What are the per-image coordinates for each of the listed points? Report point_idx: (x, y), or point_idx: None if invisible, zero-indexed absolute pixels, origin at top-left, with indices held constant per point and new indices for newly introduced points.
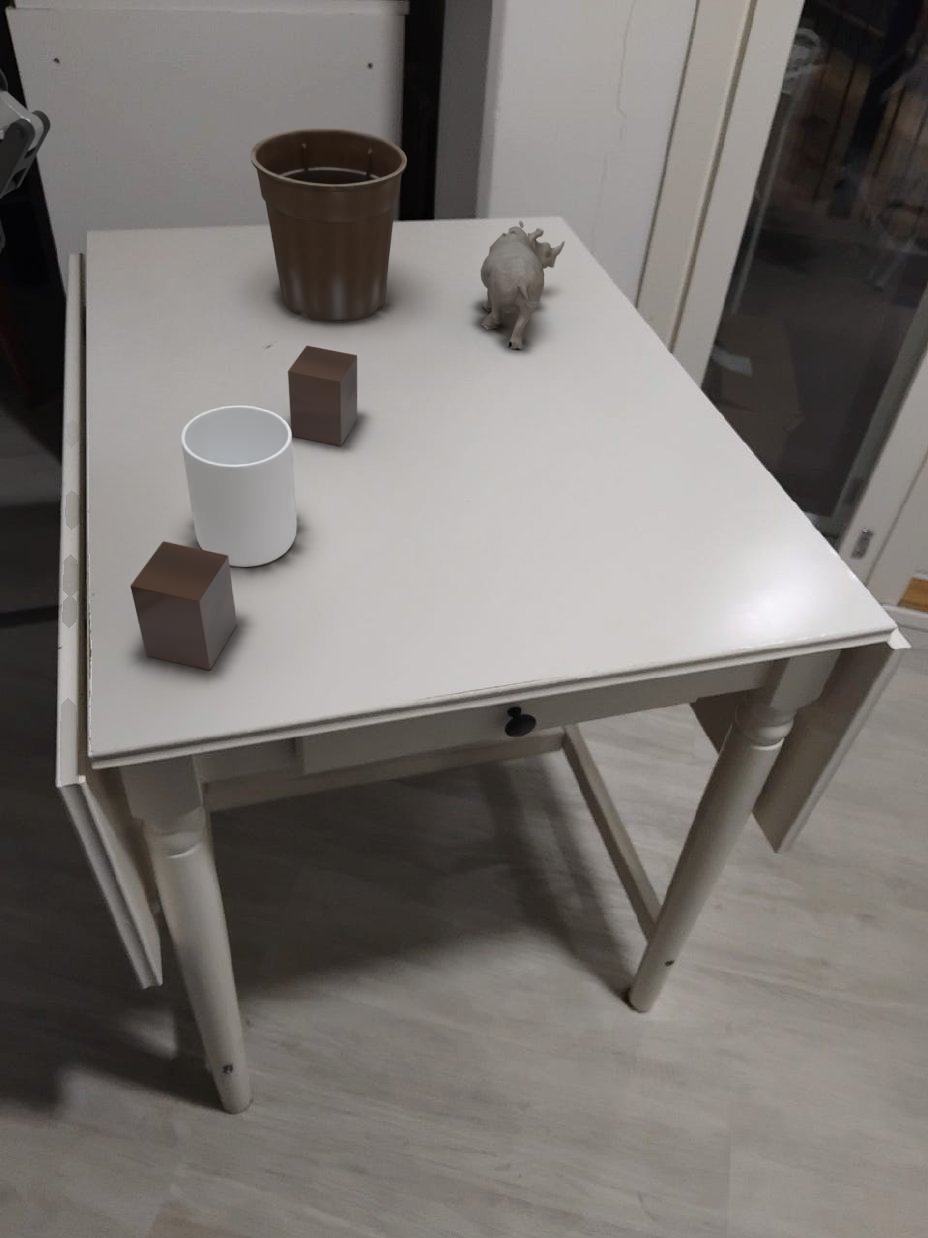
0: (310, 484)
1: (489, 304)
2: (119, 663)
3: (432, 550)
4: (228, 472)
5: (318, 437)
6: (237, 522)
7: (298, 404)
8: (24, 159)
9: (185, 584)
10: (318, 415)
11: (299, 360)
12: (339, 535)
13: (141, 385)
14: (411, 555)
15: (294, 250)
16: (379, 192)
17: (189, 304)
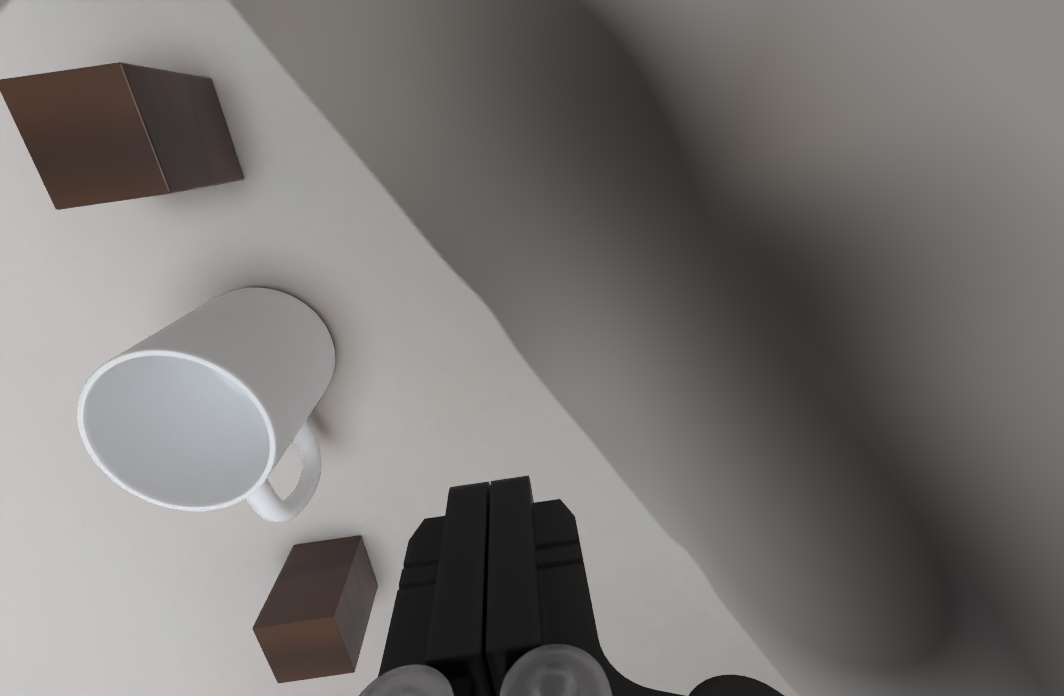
0: (275, 469)
1: None
2: (231, 47)
3: (52, 429)
4: (126, 351)
5: (321, 545)
6: (182, 317)
7: (334, 576)
8: None
9: (49, 109)
10: (309, 571)
11: (337, 641)
12: None
13: (596, 537)
14: (67, 409)
15: None
16: None
17: (645, 686)
